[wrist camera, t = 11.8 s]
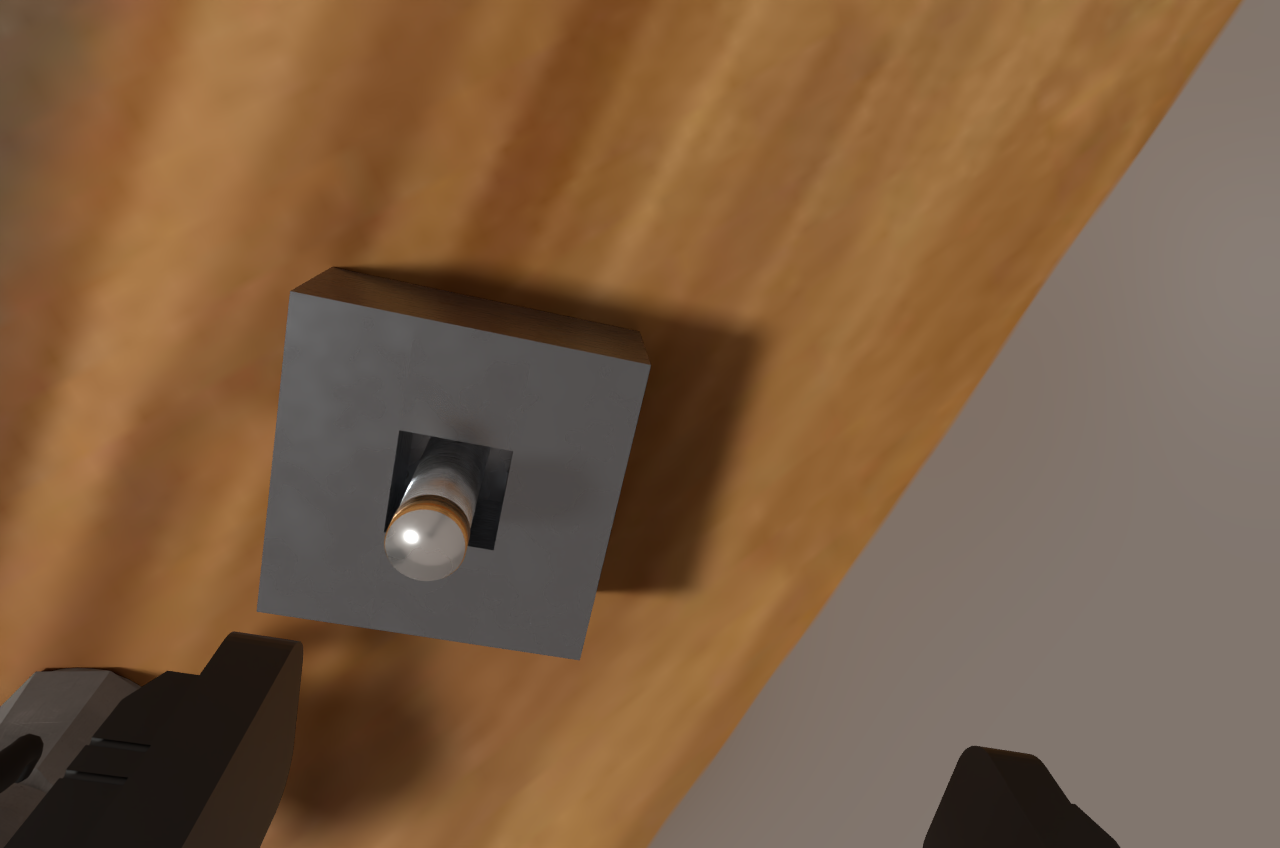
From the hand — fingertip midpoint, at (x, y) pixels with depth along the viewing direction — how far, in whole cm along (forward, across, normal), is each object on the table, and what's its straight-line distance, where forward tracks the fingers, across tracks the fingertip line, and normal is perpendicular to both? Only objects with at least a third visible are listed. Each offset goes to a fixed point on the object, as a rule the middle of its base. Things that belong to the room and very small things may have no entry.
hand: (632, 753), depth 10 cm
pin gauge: (+29, +5, +9) cm, 31 cm away
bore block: (+30, +5, +9) cm, 32 cm away
